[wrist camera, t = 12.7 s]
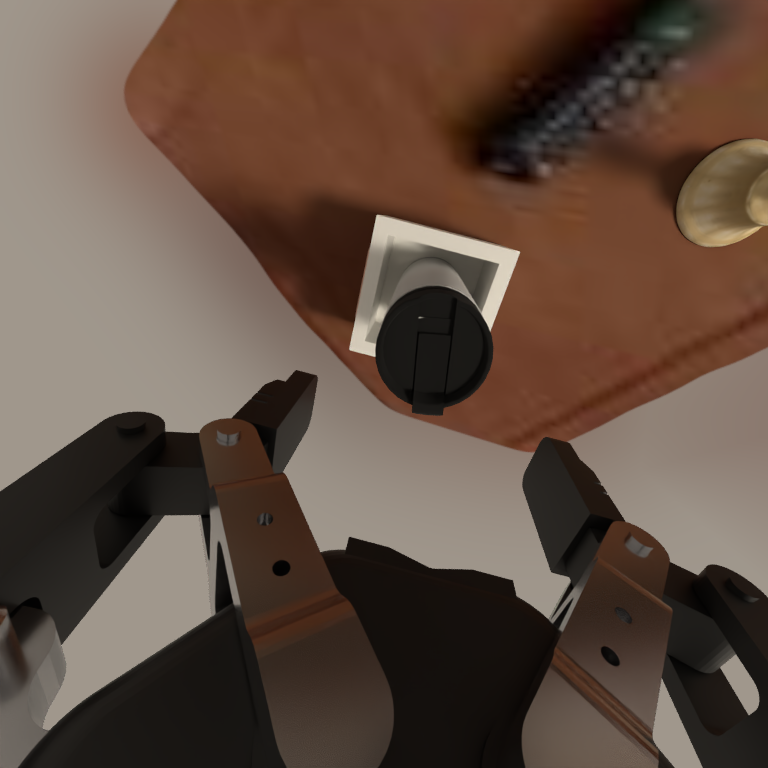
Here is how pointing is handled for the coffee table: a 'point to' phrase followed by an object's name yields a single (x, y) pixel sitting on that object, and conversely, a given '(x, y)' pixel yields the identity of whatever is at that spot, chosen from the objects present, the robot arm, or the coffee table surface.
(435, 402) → the travel mug
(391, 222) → the socket
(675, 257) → the coffee table surface
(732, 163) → the hand bell
